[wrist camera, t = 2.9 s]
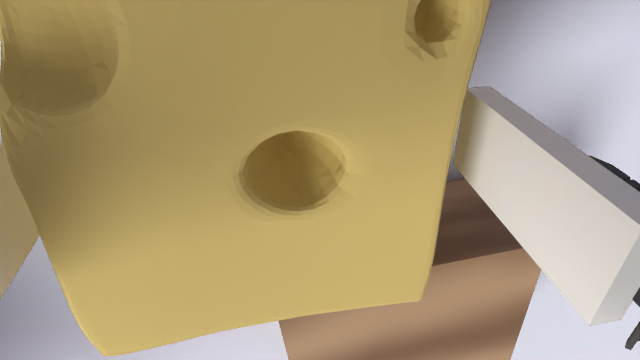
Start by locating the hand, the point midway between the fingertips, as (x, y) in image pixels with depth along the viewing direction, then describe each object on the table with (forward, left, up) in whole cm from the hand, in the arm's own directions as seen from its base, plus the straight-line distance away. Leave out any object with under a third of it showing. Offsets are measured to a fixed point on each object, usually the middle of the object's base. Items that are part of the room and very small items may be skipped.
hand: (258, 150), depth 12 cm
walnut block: (+14, +7, -7) cm, 17 cm away
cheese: (0, 0, -7) cm, 7 cm away
